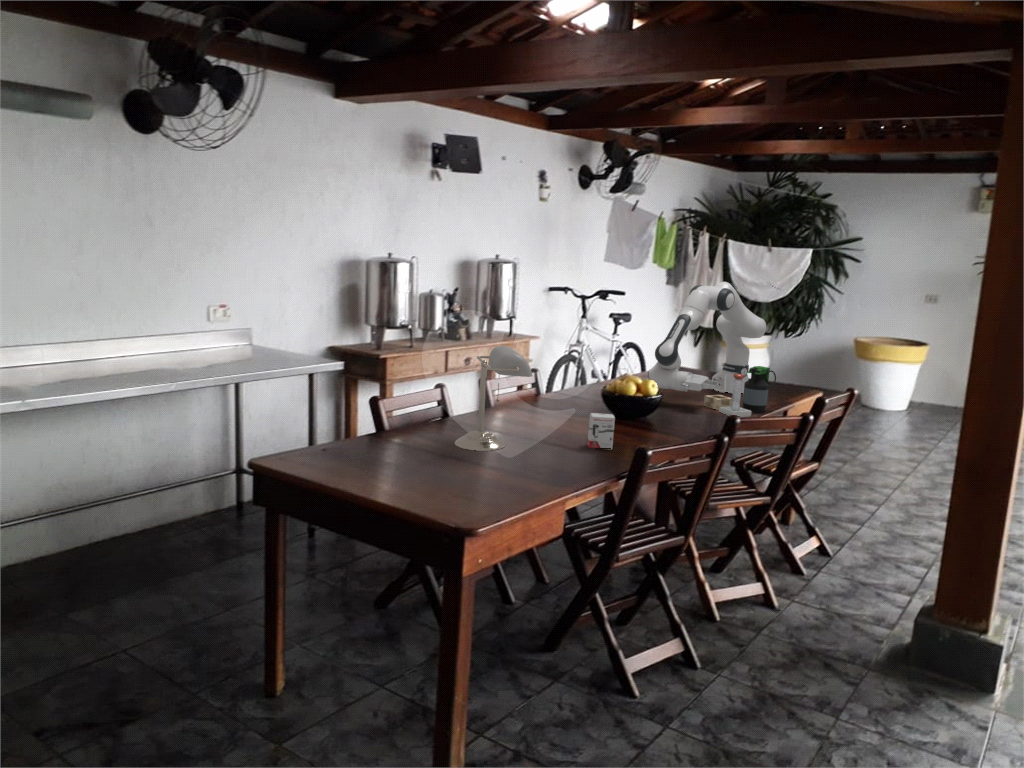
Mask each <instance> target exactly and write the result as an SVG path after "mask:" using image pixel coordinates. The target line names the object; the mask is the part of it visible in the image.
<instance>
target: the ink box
mask: <svg viewBox="0 0 1024 768" xmlns="http://www.w3.org/2000/svg"><path fill="white" fill-rule="evenodd" d="M588 422H589V423H588V433H587V447H588V448H589V449H595V448H611V449H610V450H613V445H614V433H615V422H616V417H615V415H614V414H612V413H610V414H609V413H597V412H591V413H589V421H588Z"/></svg>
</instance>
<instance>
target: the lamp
mask: <svg viewBox="0 0 1024 768" xmlns="http://www.w3.org/2000/svg"><path fill="white" fill-rule="evenodd" d="M476 359H477V361H479V362H480V382H479V383H480V384H479V401H478V402H479V403H478V404H479V407H478V421H477V423H478V425H477V430H472V431H467V433H466V434H464V435H463V436H460V437H459V438H457V439H456V440H454V445H455V446H456V447H458V448H460V449H463V450H467V449H468V451H474V450H476V452H477V451H478V452H492V451H491V450H493V451H498V450H497V449H499V450H502V449H504V448H505V447H506V446H505V444H506V443H505V442H504V440H502V439H500V438H499V437H497V436H496V435H495V434H494V433H493V432H490V431H486V430H485V429H484V427H485V407H486V406H485V404H486V390H487V389H486V388H487V387H486V386H487V384H486V383H487V370H488V371H490V372H494V373H496V374H497V375H498V377H500V375H501V376H507V377H509V376H510V377H521V378H523V377H525V378H526V377H527V378H530V377H531V378H532V377H533V372H532V369H531V366H530V364H529V362H528V360H527V359H526V358H525V357H524V356H523V355H521V353H519V352H518V351H516V350H515V349H514V348H513V347H510V346H507V345H497V346H495V347H494V348H492V349H491V351H490V353H489V355H477V356H476ZM485 359H488V362H487V360H485ZM497 387H498V388H497V399H496V400H495V401H496V402H497V403H499V402H500V399H499V393H500V384H497ZM484 430H485V431H484ZM503 447H504V448H503ZM501 448H502V449H501Z"/></svg>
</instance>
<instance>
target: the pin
mask: <svg viewBox="0 0 1024 768" xmlns="http://www.w3.org/2000/svg"><path fill="white" fill-rule="evenodd" d="M733 377H734V386H733V393H732V396H731V398H732V404H731V411H734V412H736V411H739V409H740V407H741V401H742V400H741V399H742V394H741V391H742V382H743V378H744V375H743V374H734V375H733Z"/></svg>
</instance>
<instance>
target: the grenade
mask: <svg viewBox="0 0 1024 768" xmlns="http://www.w3.org/2000/svg"><path fill="white" fill-rule="evenodd" d="M770 373H773V376H774V381H773V382H772V383H770V382H769V379H770ZM747 374H750V378H748V381H746V382H745V384H744V392H743V394H742V400H741V401H742V408H744V409H747V410H750V411H751V414H752V413H753V414H754V413H755V414H762V412H763V413H764V412H765V409H766V407H767V403H768V396H769V388H770V386H773V385H775V384H776V381H777V375H776V372H774V370H771V367H769V366H762V365H757V366H756V365H755V366H751V367H749V370H748V373H747Z"/></svg>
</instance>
